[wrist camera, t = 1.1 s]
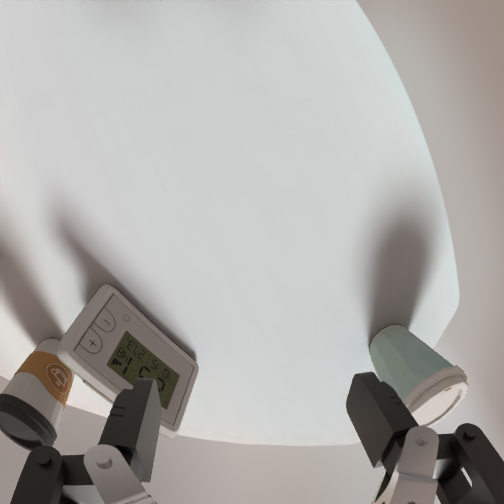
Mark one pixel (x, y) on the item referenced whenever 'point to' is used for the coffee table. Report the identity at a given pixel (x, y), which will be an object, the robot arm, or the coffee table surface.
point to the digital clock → (127, 355)
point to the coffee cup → (36, 398)
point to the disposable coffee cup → (417, 374)
